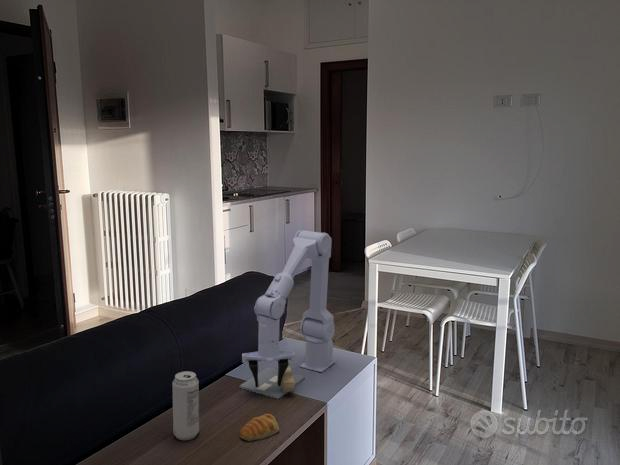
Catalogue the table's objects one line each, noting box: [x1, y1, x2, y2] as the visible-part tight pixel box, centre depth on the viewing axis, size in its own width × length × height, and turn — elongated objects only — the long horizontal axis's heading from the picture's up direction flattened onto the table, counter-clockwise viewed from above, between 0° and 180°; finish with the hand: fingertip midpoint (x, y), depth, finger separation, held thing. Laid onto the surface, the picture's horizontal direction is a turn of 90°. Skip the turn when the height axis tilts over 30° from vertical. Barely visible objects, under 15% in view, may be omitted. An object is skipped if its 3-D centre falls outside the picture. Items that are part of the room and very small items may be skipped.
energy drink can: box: [172, 370, 200, 441], centre depth 125 cm, size 6×6×15 cm
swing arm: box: [281, 364, 295, 393], centre depth 153 cm, size 16×3×3 cm, turn 9°
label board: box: [239, 366, 306, 400], centre depth 155 cm, size 15×13×1 cm
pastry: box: [239, 413, 280, 442], centre depth 128 cm, size 9×7×4 cm
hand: (268, 385), depth 148 cm, fingers open, 6 cm apart
